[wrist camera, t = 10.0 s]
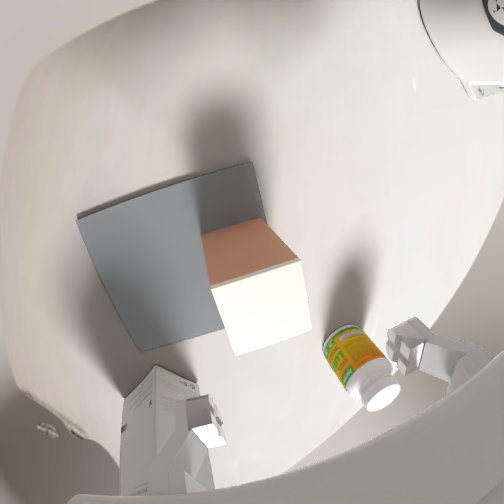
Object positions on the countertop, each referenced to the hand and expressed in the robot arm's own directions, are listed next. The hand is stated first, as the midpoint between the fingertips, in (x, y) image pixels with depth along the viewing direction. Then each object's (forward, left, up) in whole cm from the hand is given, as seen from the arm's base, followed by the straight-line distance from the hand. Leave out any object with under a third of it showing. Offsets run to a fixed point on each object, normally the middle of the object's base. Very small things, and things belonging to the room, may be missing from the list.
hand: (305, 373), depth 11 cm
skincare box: (+13, +14, -15) cm, 25 cm away
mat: (+5, 0, -15) cm, 16 cm away
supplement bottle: (-9, +15, -15) cm, 23 cm away
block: (0, 0, -14) cm, 14 cm away
